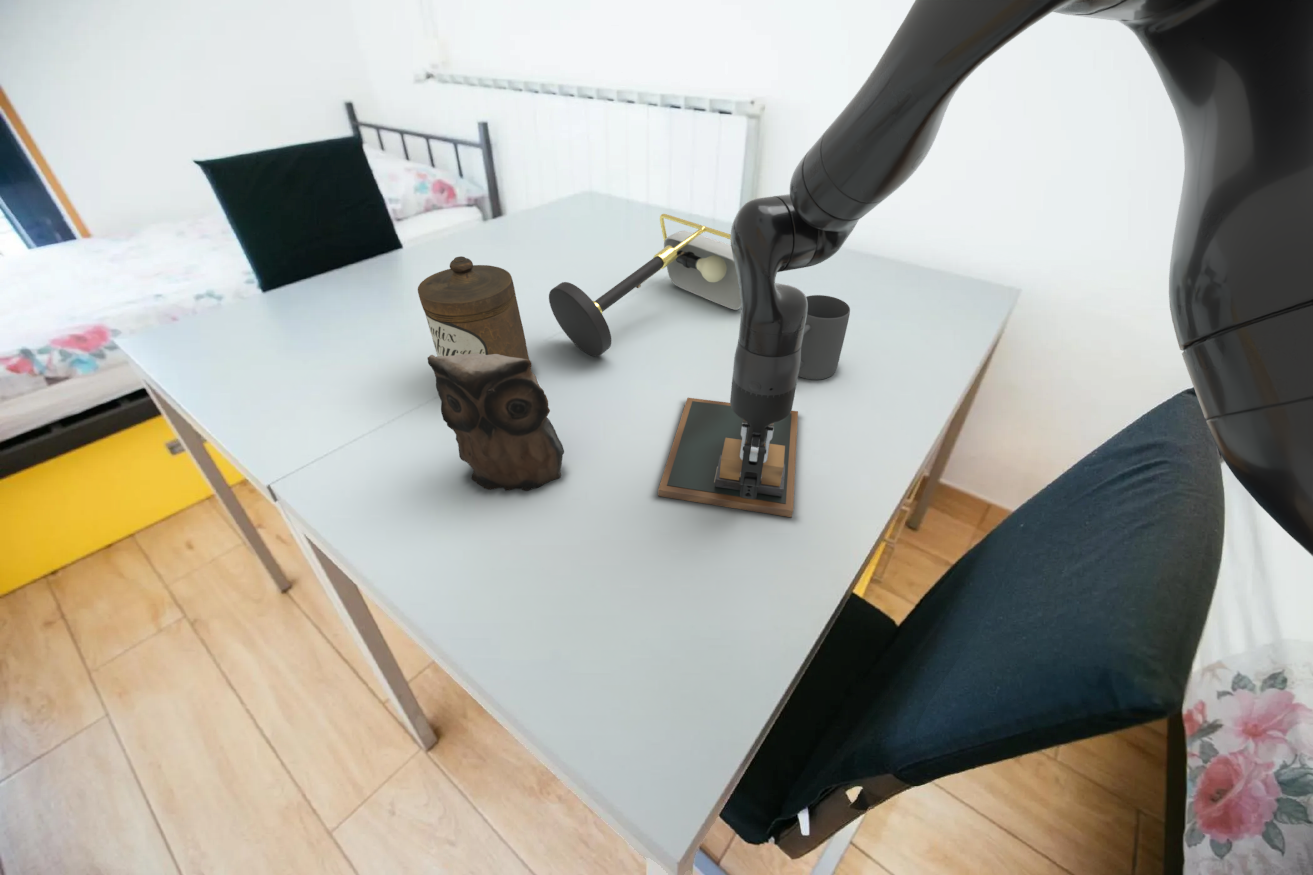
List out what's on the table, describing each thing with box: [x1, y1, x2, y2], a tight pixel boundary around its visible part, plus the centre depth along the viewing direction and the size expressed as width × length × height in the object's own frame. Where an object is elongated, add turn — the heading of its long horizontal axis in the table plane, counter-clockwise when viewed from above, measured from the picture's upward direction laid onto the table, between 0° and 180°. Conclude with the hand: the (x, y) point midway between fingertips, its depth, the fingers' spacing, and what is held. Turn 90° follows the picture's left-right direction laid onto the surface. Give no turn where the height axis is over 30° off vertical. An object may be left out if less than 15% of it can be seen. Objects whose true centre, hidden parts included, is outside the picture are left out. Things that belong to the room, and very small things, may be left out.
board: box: [657, 397, 799, 518], centre depth 80 cm, size 18×22×2 cm
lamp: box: [548, 213, 741, 357], centre depth 108 cm, size 27×23×40 cm
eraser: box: [715, 438, 785, 497], centre depth 73 cm, size 9×5×5 cm, turn 77°
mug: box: [798, 294, 851, 381], centre depth 94 cm, size 14×9×12 cm
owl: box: [427, 353, 565, 492], centre depth 72 cm, size 13×13×20 cm
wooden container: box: [417, 256, 532, 371], centre depth 90 cm, size 15×15×22 cm
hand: (750, 474), depth 74 cm, fingers open, 8 cm apart
